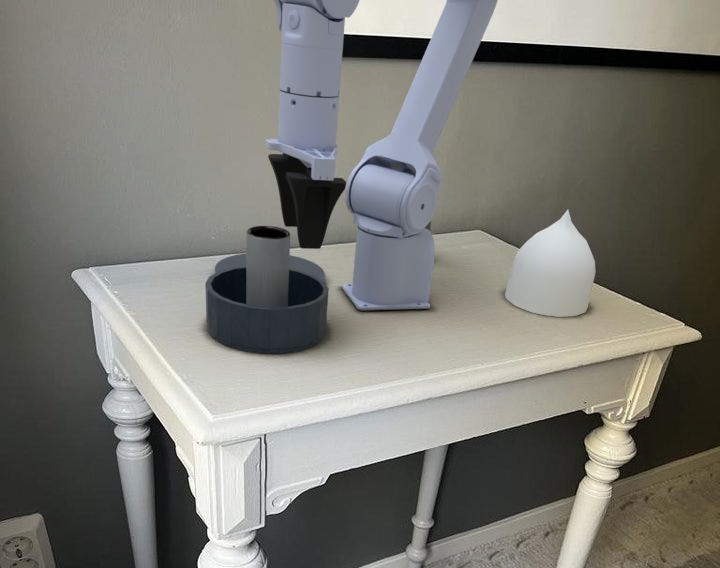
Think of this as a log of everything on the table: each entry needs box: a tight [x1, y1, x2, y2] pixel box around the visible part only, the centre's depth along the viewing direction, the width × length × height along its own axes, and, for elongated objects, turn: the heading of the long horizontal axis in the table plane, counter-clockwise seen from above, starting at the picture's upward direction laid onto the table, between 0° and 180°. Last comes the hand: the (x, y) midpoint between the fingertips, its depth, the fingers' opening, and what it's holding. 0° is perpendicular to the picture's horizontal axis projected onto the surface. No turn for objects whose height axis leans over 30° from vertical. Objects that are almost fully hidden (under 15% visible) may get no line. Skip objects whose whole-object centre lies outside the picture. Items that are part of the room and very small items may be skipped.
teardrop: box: [504, 209, 596, 318], centre depth 95 cm, size 11×11×12 cm
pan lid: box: [214, 252, 326, 282], centre depth 95 cm, size 14×14×5 cm
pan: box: [204, 266, 330, 355], centre depth 81 cm, size 13×13×5 cm
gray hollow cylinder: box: [246, 225, 291, 307], centre depth 79 cm, size 4×4×10 cm
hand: (301, 236), depth 78 cm, fingers open, 7 cm apart
